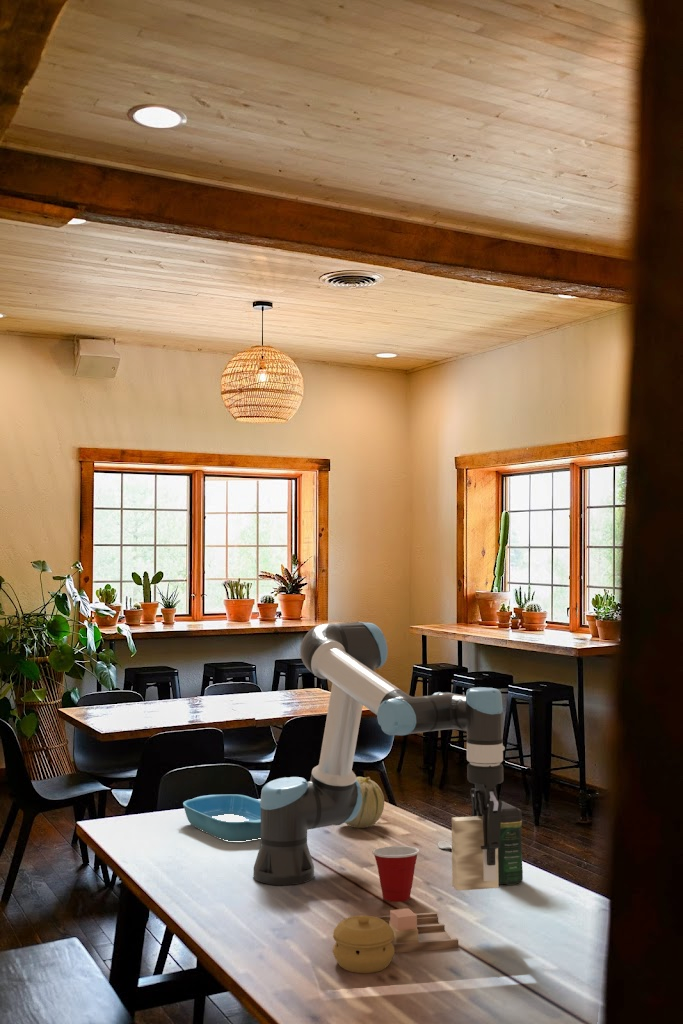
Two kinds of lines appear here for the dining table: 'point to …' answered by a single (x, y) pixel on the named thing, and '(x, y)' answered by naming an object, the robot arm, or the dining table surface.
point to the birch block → (469, 854)
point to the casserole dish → (214, 805)
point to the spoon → (444, 845)
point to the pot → (363, 944)
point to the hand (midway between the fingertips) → (486, 877)
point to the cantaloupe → (368, 804)
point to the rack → (426, 935)
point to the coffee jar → (510, 846)
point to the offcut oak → (404, 935)
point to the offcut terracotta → (403, 919)
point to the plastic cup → (396, 871)
